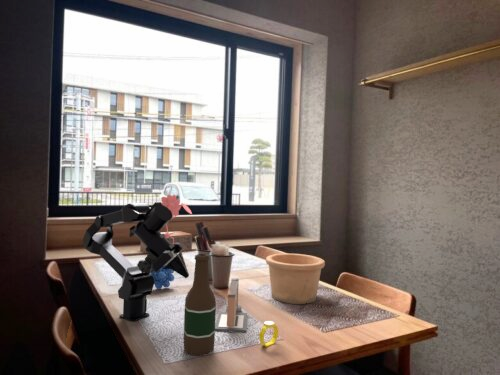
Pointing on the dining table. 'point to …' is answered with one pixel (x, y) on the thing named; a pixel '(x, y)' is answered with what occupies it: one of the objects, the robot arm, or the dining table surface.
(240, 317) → the label board
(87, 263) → the dining table surface
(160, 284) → the grapes
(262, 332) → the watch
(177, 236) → the tissue box cover
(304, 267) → the pottery
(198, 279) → the beer bottle
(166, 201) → the pink tall branching piece
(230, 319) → the tan grey flat panel
